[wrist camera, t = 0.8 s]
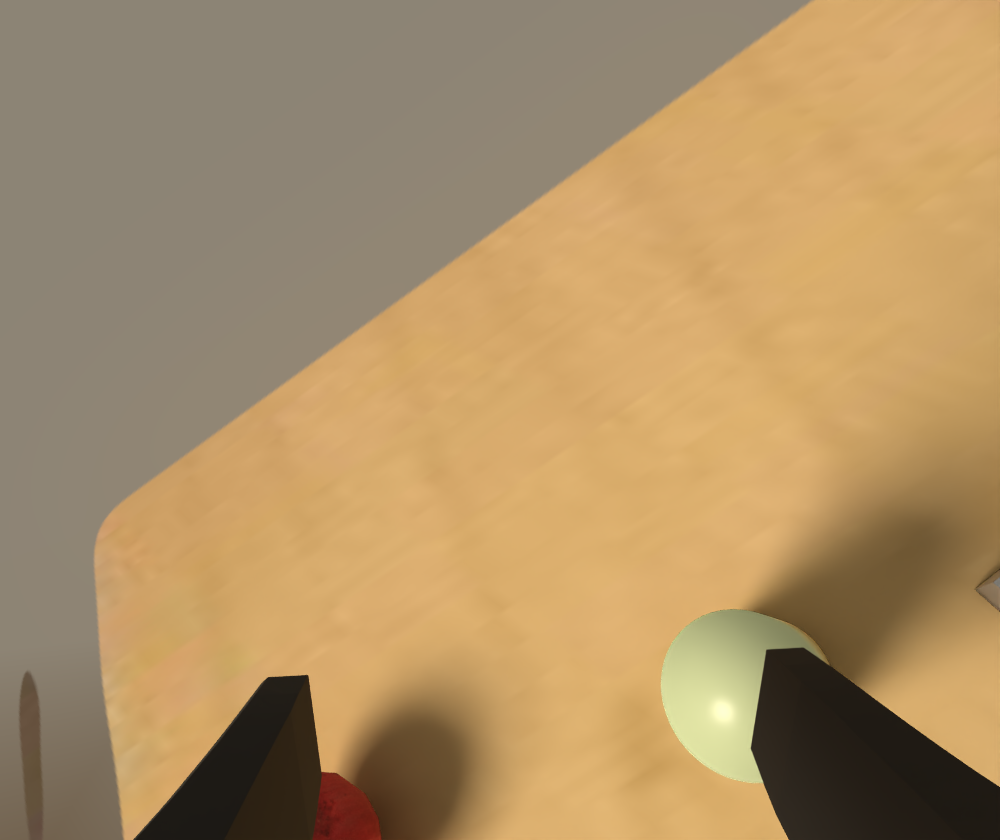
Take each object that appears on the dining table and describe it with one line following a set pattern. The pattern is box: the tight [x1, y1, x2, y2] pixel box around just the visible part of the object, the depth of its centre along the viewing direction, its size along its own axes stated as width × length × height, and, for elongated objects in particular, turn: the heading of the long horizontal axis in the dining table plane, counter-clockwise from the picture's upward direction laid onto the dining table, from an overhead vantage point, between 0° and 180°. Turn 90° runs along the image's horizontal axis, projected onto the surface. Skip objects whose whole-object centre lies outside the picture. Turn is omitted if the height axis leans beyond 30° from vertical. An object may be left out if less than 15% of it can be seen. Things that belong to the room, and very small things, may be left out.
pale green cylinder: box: [661, 609, 830, 783], centre depth 19 cm, size 4×4×7 cm
